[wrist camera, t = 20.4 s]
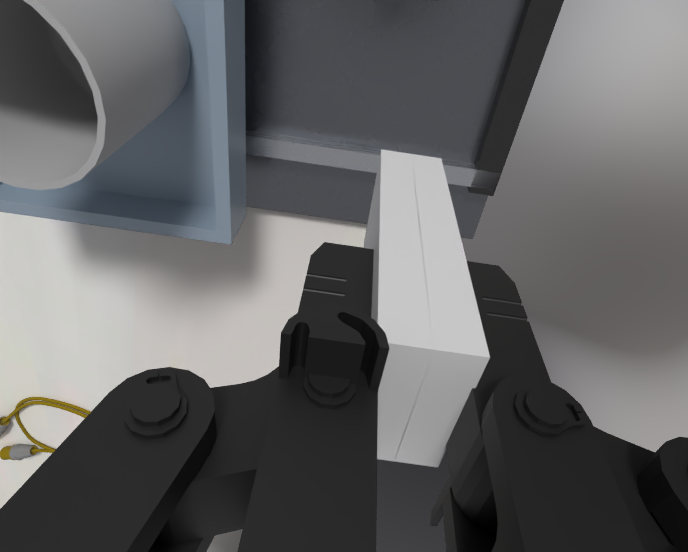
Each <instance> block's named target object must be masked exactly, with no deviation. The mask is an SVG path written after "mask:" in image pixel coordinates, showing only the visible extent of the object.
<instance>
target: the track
mask: <svg viewBox="0 0 688 552" xmlns="http://www.w3.org/2000/svg"><path fill="white" fill-rule="evenodd" d="M563 1H564V0H245V118H246V206H248V207H255V208H262V209H268V210H275V211H282V212H289V213H296V214H303V215H310V216H317V217H324V218H331V219H337V220H344V221H351V222H358V223H365V224H368V218H369V213H370V208H371V202H372V197H373V191H374V186H375V180H376V175H377V169H378V164H379V158H380V153H381V149H382V150H389V151H396V152H402V153H409V154H416V155H422V156H429V157H436V158H441V159H442V163H443V167H444V171H445V175H446V180H447V184H448V188H449V192H450V196H451V200H452V204H453V208H454V212H455V216H456V220H457V224H458V229H459V233H460V237H462V238H469V239H473V237H474V234H475V231H476V228H477V225H478V222H479V219H480V217H481V214H482V211H483V208H484V206H485V203H486V200H487V197H488V195H489V196H493V195H494V192H495V190H496V186H497V184H498V181H499V178H500V175H501V173H502V170H503V167H504V165H505V162H506V159H507V156H508V154H509V151H510V148H511V145H512V142H513V140H514V137H515V134H516V131H517V129H518V126H519V123H520V120H521V117H522V115H523V112H524V109H525V106H526V104H527V101H528V98H529V95H530V92H531V90H532V87H533V84H534V81H535V78H536V76H537V73H538V70H539V68H540V65H541V62H542V59H543V57H544V54H545V51H546V48H547V45H548V43H549V40H550V37H551V34H552V32H553V29H554V26H555V23H556V21H557V18H558V15H559V12H560V10H561V7H562V4H563Z"/></svg>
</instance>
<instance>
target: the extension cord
mask: <svg viewBox="0 0 688 552" xmlns="http://www.w3.org/2000/svg"><path fill="white" fill-rule="evenodd" d="M30 400H42V401H32V402H28V403H25V404H23V403H24V402H26V401H30ZM44 401H47V402H44ZM50 402H52V403H50ZM54 403H57V404H54ZM22 404H23V405H22ZM33 404H41V405H47V406H52V407H56V408H60V409H63V410H66V411H69V412H72V413H75V414H77V415H80V416H82V417H84V418H86V417H87V415H85V414H83V413H81V412H84V413H86V414H88V415H89V414H90V413H91V412H90V411H87V410H85V409H83V408H80V407H78V406H75V405H72V404H68V403H65V402H61V401H57V400H53V399H48V398H42V397H30V398H26V399H24V400H22V401H20V402H19V403H18V404H17V406H16V409H15V410H14V411H13V412H12V413H11V414H10V415H9V416H7V417H1V418H0V436H1V434H2V433H3V432H5V430H6V429H7V427H8V425H9V423H10V418H11V417H12V416H13V415H14V414H15V417H16V420H17V423H18V425H19V426H20V428H21V429H22V431H23V432H24V434H25V435H26V436H27V438H28V439H30V440H31V441H32V442H33V443H35V444H36V445H38V446H40V447H42V448H44V449H37V447H36V446H34V445H33V446H32V445H26V444H17V445H13V446H6V447H4V448H2V450H1V451H0V457H1V459H3V460H7V459H11V460H22V459H23V458H27V457H30V456H33V455H35V454H36V453H37V452H50V453H53V452H54V451H55V449H53V448H50V447H48V446H46V445H43V444H42V443H40V442H38V441H36V440H35V439H33V438H32V437H31V436H30V435H29V433H28V432H27V431H26V429H25V428H24V426H23V425H22V423H21V421H20V418H19V410H21V409H22V408H24V407H26V406H28V405H33ZM58 404H60V405H58ZM61 405H64V406H61ZM65 406H67V407H65ZM68 407H71V408H74V409H76V410H79V411H81V412H79V411H76V410H74V409H71V408H68Z"/></svg>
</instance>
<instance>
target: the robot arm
mask: <svg viewBox="0 0 688 552" xmlns="http://www.w3.org/2000/svg"><path fill="white" fill-rule="evenodd" d="M446 450H447V457H448V465H449V474H450V477H449V479H448V481H447V483H446V485H445V487H444V489H443V490H442V492H441V494H440V496H439V498H438V500H437V502H436V504H435V506H434V508H433V510H432V514H431V522H430V525H432V526H437V525H438V523H439V521H440V519H441V518H442V516H443V519H444V530H445V541H446V551H447V552H688V438H685V437H678V438H675V439H672V440H669V441H667V442H665V443H664V444H663V445H662V446H661V447H660V448H659V449H658V450H657V451H656V452H655V453H654V452H652V451H650V450H647V449H645V448H642V447H640V446H637V445H635V444H632V443H630V442H627V441H625V440H622V439H620V438H618V437H615V436H613V435H610V434H608V433H606V432H603V431H602V430H599V429H598V428H596V427H594V426H593V425H592V423H591V420H590V419H589V417H588V416H587V414H586V412H585V411H584V409H583V408H582V406H581V404H579V403H578V402H577V401H576V400H575V399H574V398H573V397H572V396H571V395H570V394H569V393H568V392H567V391H565V390H564V389H562V388H560V387H558V386H557V385H555V384H553V383H551V381H550V378H549V375H548V372H547V370H546V367H545V364H544V362H543V359H542V356H541V353H540V351H539V348H538V345H537V343H536V340H535V337H534V334H533V332H532V329H531V326H530V323H529V322H527V315H526V312H525V310H524V307H523V306H521V299H520V296H519V293H518V291H517V288H516V285H515V283H514V282H513V281H512V280H511V279H510V278H509V276H508V275H507V274H506V273H505V272H504V271H503V270H502V269H501V268H500V267H499V266H496V265H489V264H482V263H475V262H469V261H466V257H465V253H464V250H463V245H462V241H461V237H460V233H459V229H458V224H457V220H456V216H455V212H454V208H453V204H452V200H451V196H450V192H449V188H448V184H447V180H446V175H445V171H444V167H443V163H442V159H441V158H436V157H429V156H422V155H416V154H409V153H402V152H396V151H389V150H382V149H381V153H380V158H379V164H378V169H377V175H376V180H375V186H374V191H373V197H372V202H371V208H370V213H369V218H368V224H367V229H366V235H365V240H364V248H361V247H354V246H347V245H340V244H333V243H326V242H324V243H323V244H322V245H321V246H320V247H319V248H318V249H317V250H316V251H315V252H314V253H313V254H312V255H311V258H310V262H309V266H308V271H307V276H306V279H305V284H304V289H303V293H302V297H301V301H300V306H299V310H298V313H297V314H296V315H294V316H293V317H291V318H290V319H289V320H288V322H287V323H286V325H285V327H284V329H283V331H282V332H281V343H280V360H279V367H277V368H276V369H275V370H273V371H272V372H271V373H269V374H268V375H266V376H264V377H261V378H259V379H257V380H255V381H250V382H246V383H242V384H236V385H229V386H222V387H214V388H210V387H209V386H208V384H207V383H206V381H205V380H204V379H202V378H201V377H199V376H197V375H196V374H194V373H192V372H191V371H189V370H183V369H177V368H171V367H167V368H159V369H151V370H147V371H144V372H142V373H139V374H137V375H134V376H132V377H130V378H127V379H126V380H125V381H123V382H122V383H121V384H120V385H118V386H117V387H116V388H114V389H113V390H112V391H111V392H109V393H108V395H107V396H106V397H105V398H104V399H103V400H102V401H101V402H100V403H99V404H98V405H97V406H96V407H95V408H94V410H93V411H92V412H91V413H90V414H89V415H88V416H87V417H86V418H85V419H84V420H83V421H82V422H81V423H80V424H79V426H78V427H77V428H76V429H75V430H74V431H73V432H72V433H71V434H70V435H69V436H68V437H67V438H66V439H65V441H64V442H63V443H62V444H61V445H60V446H59V447H58V448H57V449H56V450H55V451H54V452H53V453H52V454H51V456H50V457H49V458H48V459H47V460H46V461H45V462H44V463H43V464H42V465H41V466H40V467H39V468H38V469H37V470H36V472H35V473H34V474H33V475H32V476H31V477H30V478H29V479H28V480H27V481H26V482H25V483H24V484H23V485H22V487H21V488H20V489H19V490H18V491H17V492H16V493H15V494H14V495H13V496H12V497H11V498H10V499H9V500H8V502H7V503H6V504H5V505H4V506H3V507H2V508H1V509H0V552H206V551H207V549H208V547H209V545H210V543H211V542H212V540H213V538H214V536H215V535H218V534H222V533H227V532H231V531H236V530H240V529H243V531H242V535H241V539H240V544H239V548H238V552H376V507H377V500H376V499H377V459H381V460H388V461H395V462H403V463H410V464H417V465H425V466H432V467H438V466H439V464H440V462H441V460H442V458H443V456H444V454H445V452H446Z"/></svg>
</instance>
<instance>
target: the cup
mask: <svg viewBox="0 0 688 552" xmlns="http://www.w3.org/2000/svg"><path fill="white" fill-rule="evenodd" d="M189 67H190V51H189V40H188V37H187V34H186V30H185V27H184V24H183V21H182V18H181V16H180V14H179V13H178V11H177V9H176V7H175V5H174V4H173V2H172V0H0V182H2V183H5V184H8V185H11V186H14V187H20V188H27V189H34V190H47V189H56V188H63V187H65V186H67V185H70V184H72V183H74V182H76V181H79V180H81V179H82V178H83V177H85V176H86V175H87V174H88V173H90V172H91V171H92V170H93V169H94V168H96V167H97V166H98V165H99V164H101V163H102V162H103V161H104V160H105V159H107V158H108V157H109V156H110V155H112V154H113V153H114V152H115V151H116V150H118V149H119V148H120V147H121V146H123V145H124V144H125V143H126V142H127V141H129V140H130V139H131V138H132V137H134V136H135V135H136V134H137V133H139V132H140V131H141V130H142V129H143V128H145V127H146V126H147V125H148V124H150V123H151V122H152V121H153V120H154V119H156V118H157V117H158V116H159V115H161V114H162V113H163V112H164V111H165V110H166V109H167V108H168V107H169V106H170V105H171V104H172V103H173V102H174V101H175V100H176V99H177V98H178V97H179V95H180V94H181V92H182V90H183V88H184V86H185V84H186V82H187V78H188V73H189Z"/></svg>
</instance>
